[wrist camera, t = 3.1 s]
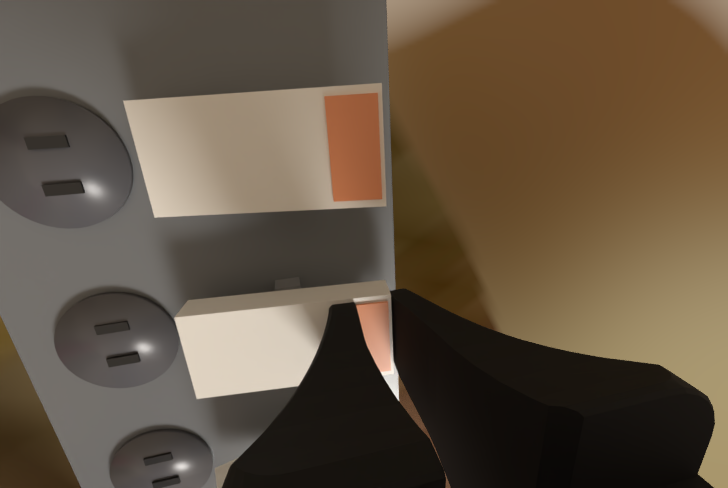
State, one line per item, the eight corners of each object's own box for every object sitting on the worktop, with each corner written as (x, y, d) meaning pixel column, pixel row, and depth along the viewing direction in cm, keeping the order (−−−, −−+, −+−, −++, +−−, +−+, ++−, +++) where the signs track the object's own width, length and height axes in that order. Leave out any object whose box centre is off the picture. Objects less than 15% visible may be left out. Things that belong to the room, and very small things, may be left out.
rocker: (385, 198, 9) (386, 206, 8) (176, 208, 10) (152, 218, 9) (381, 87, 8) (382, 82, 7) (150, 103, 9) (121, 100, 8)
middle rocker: (388, 354, 12) (394, 375, 11) (207, 375, 11) (195, 400, 10) (385, 279, 11) (391, 295, 10) (188, 299, 10) (173, 319, 9)
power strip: (381, 425, 19) (406, 500, 15) (148, 481, 17) (109, 585, 13) (358, 12, 13) (392, -41, 9) (-27, 11, 10) (-214, -61, 6)
